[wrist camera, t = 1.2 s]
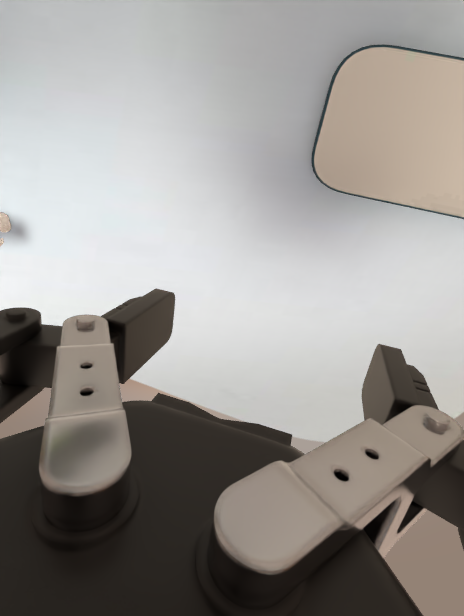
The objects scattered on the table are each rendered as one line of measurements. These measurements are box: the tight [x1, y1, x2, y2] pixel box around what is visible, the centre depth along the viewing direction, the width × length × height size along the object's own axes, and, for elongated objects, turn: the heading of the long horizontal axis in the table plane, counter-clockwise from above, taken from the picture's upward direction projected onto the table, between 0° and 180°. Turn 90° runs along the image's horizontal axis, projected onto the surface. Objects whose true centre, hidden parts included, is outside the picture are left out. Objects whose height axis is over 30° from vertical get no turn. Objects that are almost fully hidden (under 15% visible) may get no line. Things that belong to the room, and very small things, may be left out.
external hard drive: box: [312, 45, 464, 219], centre depth 30 cm, size 24×12×2 cm, turn 80°
